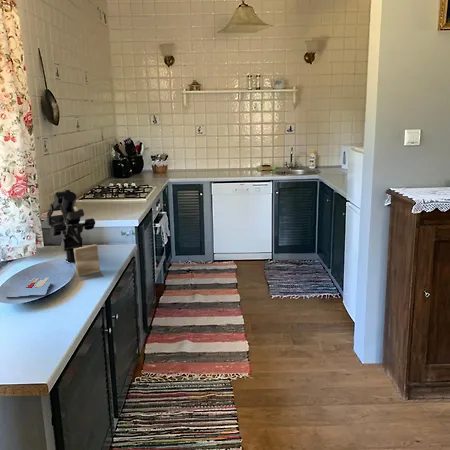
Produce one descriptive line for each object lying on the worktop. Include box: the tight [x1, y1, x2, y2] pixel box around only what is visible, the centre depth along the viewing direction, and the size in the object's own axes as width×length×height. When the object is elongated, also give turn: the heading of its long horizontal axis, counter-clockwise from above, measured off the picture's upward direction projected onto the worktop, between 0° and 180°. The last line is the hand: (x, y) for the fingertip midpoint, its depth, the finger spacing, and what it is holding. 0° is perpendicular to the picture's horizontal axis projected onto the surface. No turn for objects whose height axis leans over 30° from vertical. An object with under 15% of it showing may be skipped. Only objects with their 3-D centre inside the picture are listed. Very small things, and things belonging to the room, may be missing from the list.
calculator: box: [26, 277, 50, 288], centre depth 190 cm, size 11×4×15 cm
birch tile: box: [74, 244, 101, 276], centre depth 206 cm, size 2×10×12 cm, turn 124°
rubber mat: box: [75, 270, 105, 282], centre depth 208 cm, size 16×10×1 cm, turn 25°
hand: (79, 242), depth 211 cm, fingers closed
